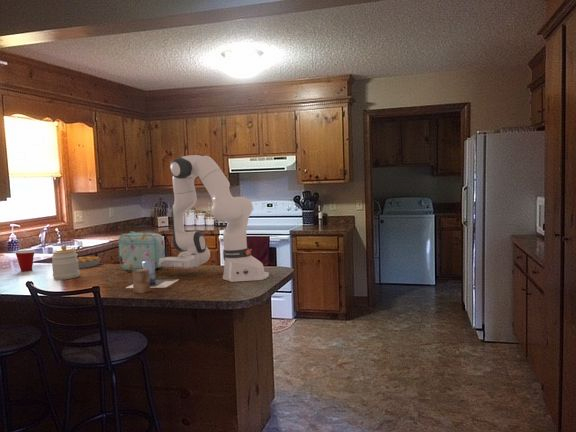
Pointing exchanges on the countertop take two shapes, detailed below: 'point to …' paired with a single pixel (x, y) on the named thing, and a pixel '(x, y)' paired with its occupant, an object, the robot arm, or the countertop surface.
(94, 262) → the pie
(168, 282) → the letter board
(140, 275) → the walnut block
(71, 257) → the jar
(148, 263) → the canister
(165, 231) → the countertop surface
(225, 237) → the robot arm
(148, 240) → the lunch box
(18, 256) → the plastic cup
